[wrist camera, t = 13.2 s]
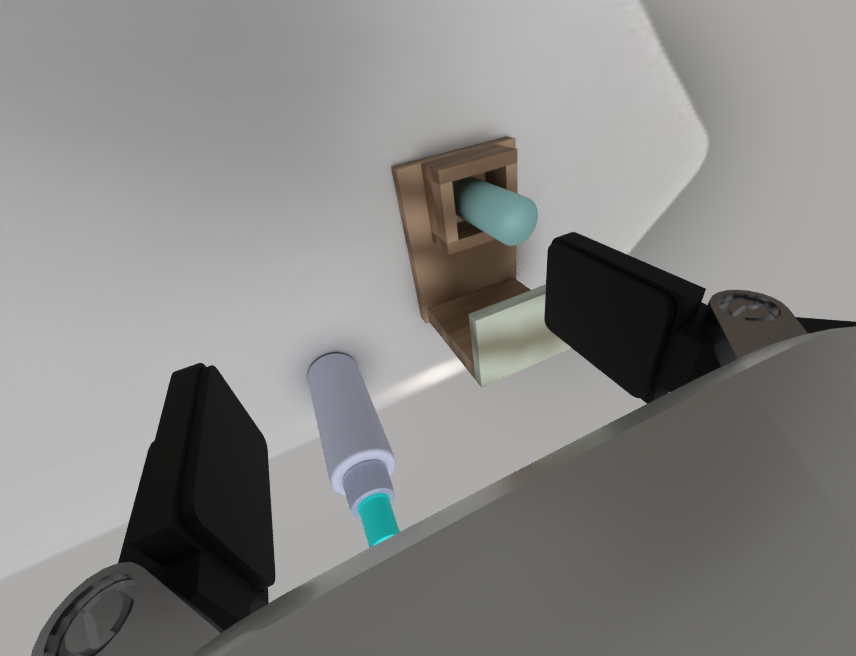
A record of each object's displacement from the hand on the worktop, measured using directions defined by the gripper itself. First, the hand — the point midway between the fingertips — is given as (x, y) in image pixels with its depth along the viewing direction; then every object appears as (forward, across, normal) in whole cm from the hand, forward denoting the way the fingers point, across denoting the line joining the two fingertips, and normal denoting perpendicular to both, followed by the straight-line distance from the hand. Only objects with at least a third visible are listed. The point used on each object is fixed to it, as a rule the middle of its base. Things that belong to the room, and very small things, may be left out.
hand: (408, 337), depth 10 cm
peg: (+27, -15, +6) cm, 31 cm away
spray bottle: (+28, +4, +23) cm, 37 cm away
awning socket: (+28, -15, +11) cm, 34 cm away
